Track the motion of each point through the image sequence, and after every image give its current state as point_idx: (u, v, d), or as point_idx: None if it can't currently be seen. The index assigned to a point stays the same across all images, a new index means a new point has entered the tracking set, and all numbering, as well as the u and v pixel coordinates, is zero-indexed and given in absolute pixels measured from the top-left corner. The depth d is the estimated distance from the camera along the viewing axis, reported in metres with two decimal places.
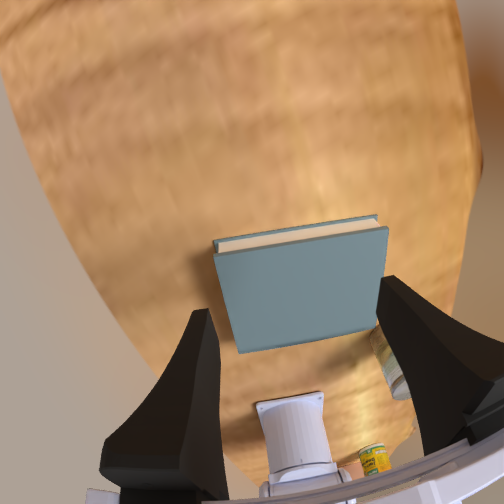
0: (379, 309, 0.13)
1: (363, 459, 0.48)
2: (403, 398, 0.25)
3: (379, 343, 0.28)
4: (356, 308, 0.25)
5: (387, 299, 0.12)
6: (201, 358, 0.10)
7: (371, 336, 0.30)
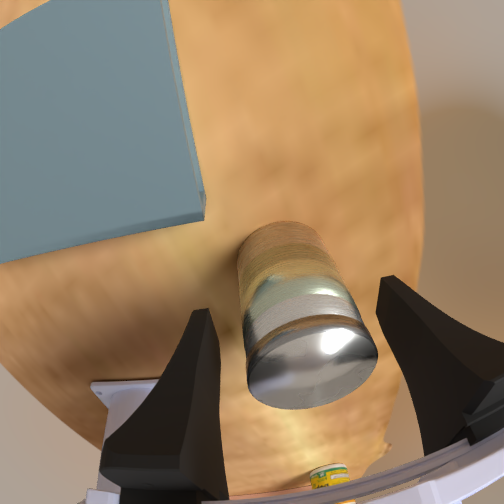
0: (379, 309, 0.13)
1: (314, 484, 0.34)
2: (295, 406, 0.11)
3: (242, 272, 0.14)
4: (131, 157, 0.10)
5: (387, 299, 0.12)
6: (201, 358, 0.10)
7: (237, 264, 0.16)
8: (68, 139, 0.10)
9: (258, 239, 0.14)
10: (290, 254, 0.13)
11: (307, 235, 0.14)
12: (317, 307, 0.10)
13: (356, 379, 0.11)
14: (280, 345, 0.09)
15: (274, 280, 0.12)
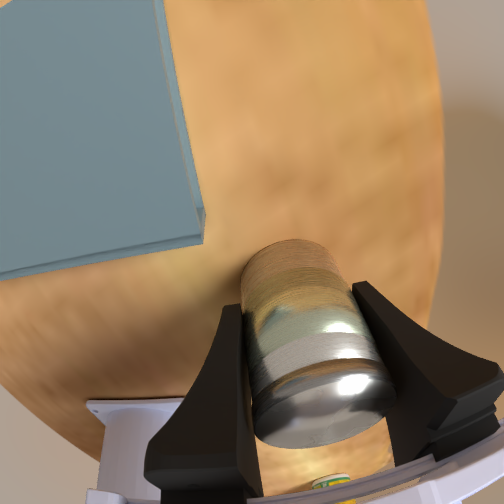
0: None
1: None
2: (304, 445, 0.10)
3: (246, 298, 0.12)
4: (117, 172, 0.09)
5: (358, 305, 0.12)
6: (238, 353, 0.10)
7: None
8: (46, 151, 0.08)
9: (264, 261, 0.13)
10: (301, 281, 0.11)
11: (319, 257, 0.13)
12: (334, 349, 0.08)
13: (372, 418, 0.09)
14: (291, 395, 0.08)
15: (284, 314, 0.10)
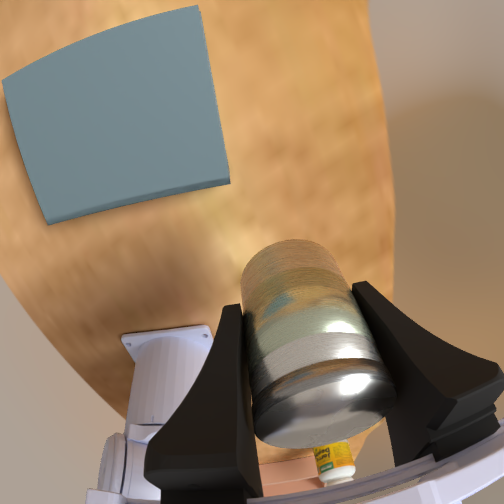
0: None
1: (315, 449, 0.39)
2: (304, 445, 0.10)
3: (246, 298, 0.12)
4: (181, 139, 0.16)
5: (358, 305, 0.12)
6: (238, 353, 0.10)
7: (241, 286, 0.14)
8: (135, 125, 0.15)
9: (264, 260, 0.13)
10: (301, 281, 0.11)
11: (319, 256, 0.13)
12: (334, 349, 0.08)
13: (372, 418, 0.09)
14: (291, 395, 0.08)
15: (284, 314, 0.10)
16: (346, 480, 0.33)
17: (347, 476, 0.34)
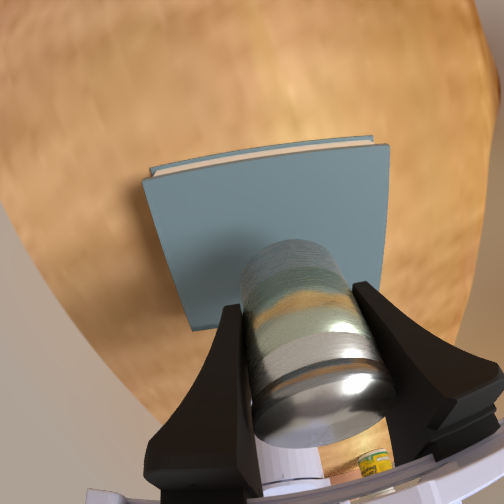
0: None
1: (363, 467, 0.41)
2: (304, 445, 0.10)
3: (245, 298, 0.12)
4: (351, 267, 0.18)
5: None
6: (238, 353, 0.10)
7: (240, 285, 0.14)
8: None
9: (264, 260, 0.13)
10: (301, 281, 0.11)
11: (319, 256, 0.12)
12: (334, 349, 0.08)
13: (372, 418, 0.09)
14: (291, 395, 0.08)
15: (284, 313, 0.10)
16: (390, 492, 0.36)
17: (391, 488, 0.37)
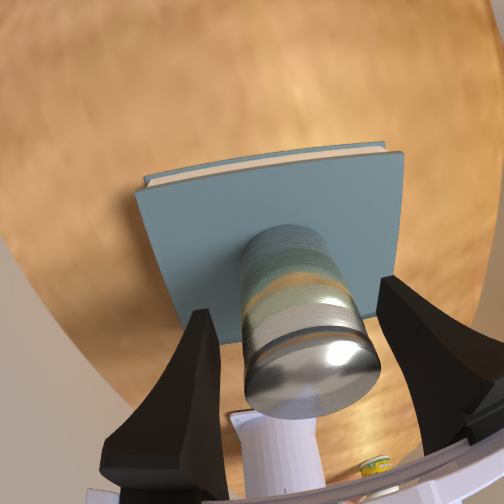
0: (379, 309, 0.13)
1: (365, 473, 0.40)
2: (294, 416, 0.11)
3: (243, 277, 0.14)
4: (359, 282, 0.17)
5: (387, 299, 0.12)
6: (201, 358, 0.10)
7: (239, 268, 0.15)
8: None
9: (260, 243, 0.14)
10: (292, 260, 0.12)
11: (311, 239, 0.14)
12: (318, 318, 0.09)
13: (358, 391, 0.10)
14: (278, 358, 0.09)
15: (275, 288, 0.11)
16: None
17: None
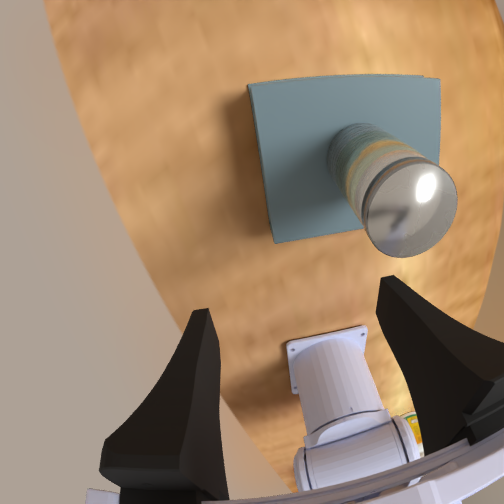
0: (379, 309, 0.13)
1: None
2: (399, 252, 0.13)
3: (337, 158, 0.16)
4: None
5: (387, 299, 0.12)
6: (201, 358, 0.10)
7: (327, 159, 0.18)
8: None
9: (345, 134, 0.16)
10: (376, 135, 0.14)
11: (382, 129, 0.16)
12: (409, 154, 0.12)
13: (444, 221, 0.12)
14: (392, 174, 0.11)
15: (371, 148, 0.14)
16: None
17: None
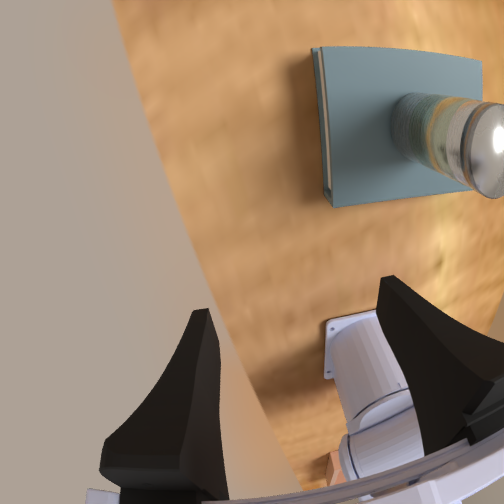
0: (379, 309, 0.13)
1: None
2: (495, 192, 0.12)
3: (407, 125, 0.15)
4: None
5: (387, 299, 0.12)
6: (201, 358, 0.10)
7: (393, 132, 0.17)
8: None
9: (405, 103, 0.15)
10: (438, 96, 0.13)
11: (434, 94, 0.15)
12: (481, 102, 0.11)
13: None
14: (480, 117, 0.10)
15: (443, 105, 0.12)
16: None
17: None
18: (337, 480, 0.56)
